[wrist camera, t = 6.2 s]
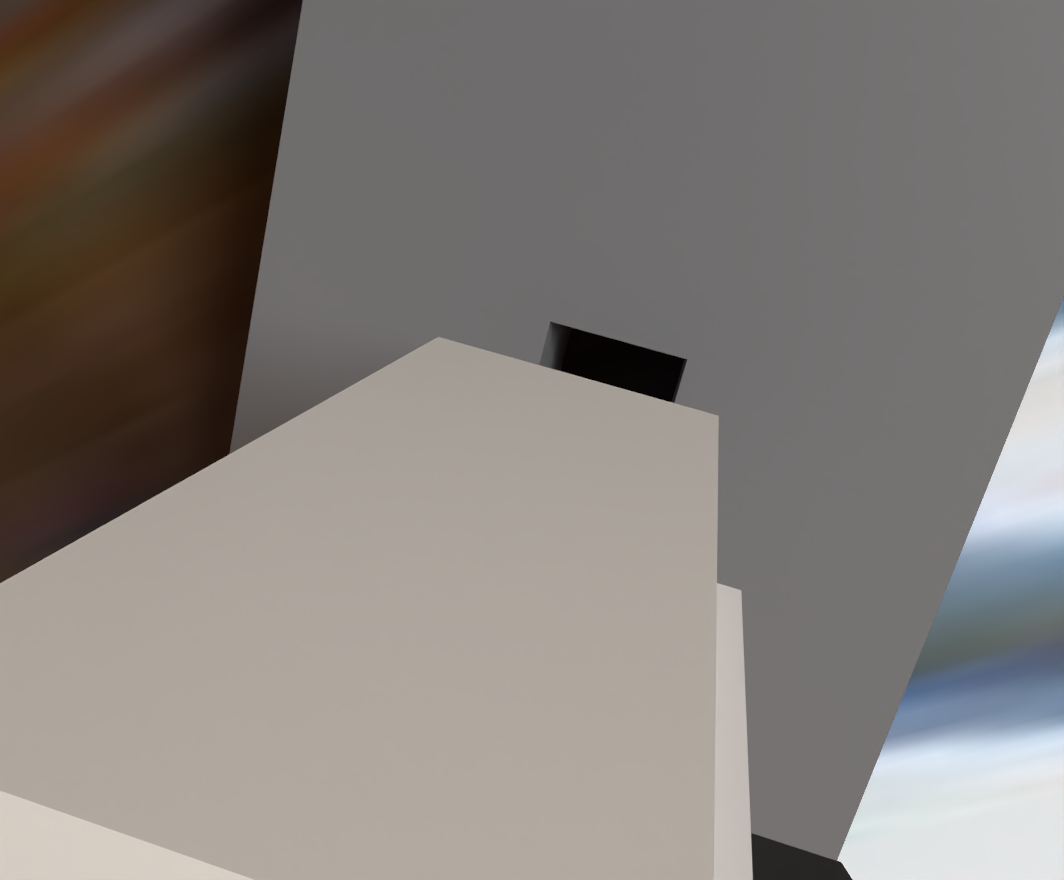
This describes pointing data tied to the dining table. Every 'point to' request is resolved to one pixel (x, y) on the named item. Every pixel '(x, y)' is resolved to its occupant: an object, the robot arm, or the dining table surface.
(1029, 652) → the dining table surface
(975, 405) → the header
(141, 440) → the dining table surface
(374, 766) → the plug
